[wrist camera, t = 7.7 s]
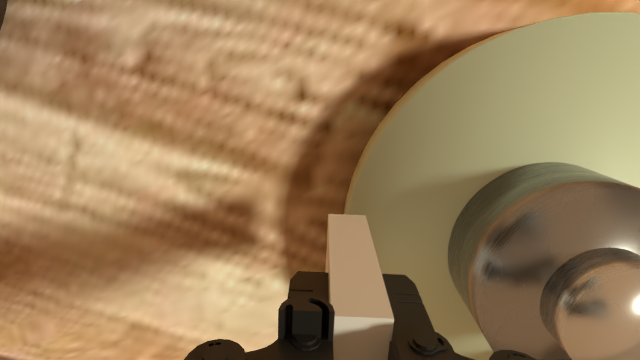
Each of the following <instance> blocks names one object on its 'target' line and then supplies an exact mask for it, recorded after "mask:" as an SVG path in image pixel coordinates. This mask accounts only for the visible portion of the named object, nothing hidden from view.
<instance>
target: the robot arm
mask: <svg viewBox="0 0 640 360" xmlns="http://www.w3.org/2000/svg"><path fill="white" fill-rule="evenodd" d="M6 6H7V0H0V29H1V26H2V23H3V19H4V15H5V11H6ZM184 360H475V359H471V358H468V357H465V356H462V355H459V354H457V353H456V352H454V350H453V348H452V346H451V344H450V343H449V342H448V340H447V339H446V338H445V337H443V336H442V335H441V334H439V333H437V332H435V330H434V328H433V325H432V323H431V321H430V318H429V316H428V313H427V311H426V309H425V306H424V304H423V301H422V299H421V297H420V295H419V292H418V290H417V287H416V285H415V283H414V282H413V281H412V280H410V279H409V278H408V277H407V276H406V275H400V274H382V273H381V269H380V266H379V262H378V259H377V255H376V251H375V248H374V244H373V240H372V237H371V233H370V230H369V226H368V222H367V219H366V215H345V214H328V230H327V250H326V269H325V272H302V271H298V272H297V273H296V274H295V275H294V276H293V277H292V279H291V280H290V286H289V293H288V299H287V300H286V301H284V302H283V303H282V304H281V306H280V308H279V315H278V339H277V340H276V341H275V342H274V343H272V344H271V345H269V346H267V347H265V348H262V349H259V350H255V351H250V352H245V351H244V349H243V348H242V347H241V346H240V345H239V344H238V343H236V342H234V341H231V340H224V339H217V340H212V341H207V342H205V343H203V344H201V345H199V346H197V347H196V348H195V349H193V350H192V351H191V352H190V353H189V354H188V355H187V357H186V358H185V359H184ZM489 360H537V359H535V358H533V357H531V356H529V355H527V354H525V353H522V352H518V351H514V350H499V351H496V352H494V353H493V354H492V355H491V356H490V358H489Z"/></svg>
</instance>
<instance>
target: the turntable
mask: <svg viewBox="0 0 640 360" xmlns="http://www.w3.org/2000/svg"><path fill="white" fill-rule="evenodd" d="M543 162H563V163H568V164H574V165H577V166H580V167H584V168H587V169H589V170H592V171H595V172H597V173H600V174H603V175H605V176H608V177H611V178H614V179H616V180H619V181H622V182H624V183H627V184H630V185H632V186H635V187H638V188H640V14H638V13H630V12H600V13H586V14H579V15H573V16H566V17H560V18H554V19H550V20H546V21H542V22H538V23H534V24H529V25H526V26H522V27H519V28H516V29H512V30H509V31H505V32H502V33H498V34H496V35H494V36H492V37H489V38H487V39H485V40H482V41H480V42H478V43H475V44H473V45H471V46H469V47H467V48H465V49H464V50H462V51H460V52H459V53H457V54H455V55H454V56H452V57H450V58H448V59H447V60H445V61H443V62H442V63H441V64H439V65H438V66H437V67H435V68H434V69H433V70H431V71H430V72H429V73H428V74H426V75H425V76H424V77H422V78H421V79H420V80H418V81H417V82H416V83H415V84H414V85H413V86H412V87H411V88H410V89H409V90H408V91H407V92H406V93H405V94H404V95H403V96H402V97H401V98H400V99H399V100H398V101H397V102H396V103H395V105H394V106H393V107H392V108H391V110H390V111H389V112H388V113H387V115H386V116H385V117H384V119H383V120H382V121H381V122H380V124H379V125H378V126H377V128H376V130H375V131H374V133H373V135H372V136H371V138H370V140H369V141H368V143H367V145H366V146H365V148H364V150H363V152H362V154H361V157H360V159H359V161H358V164H357V166H356V168H355V170H354V173H353V175H352V179H351V182H350V186H349V189H348V193H347V196H346V201H345V208H344V214H345V215H366V219H367V222H368V226H369V230H370V233H371V237H372V240H373V244H374V248H375V251H376V255H377V259H378V262H379V266H380V269H381V273H382V274H400V275H406V276H407V277H408V278H409V279H410V280H412V281H413V282H414V283H415V285H416V287H417V290H418V292H419V295H420V297H421V299H422V301H423V304H424V306H425V309H426V311H427V313H428V316H429V318H430V321H431V323H432V325H433V328H434V330H435V332H437V333H439V334H441V335H442V336H443V337H445V338H446V339H447V340H448V342H449V343H450V344H451V346H452V348H453V350H454V352H456V353H457V354H459V355H462V356H465V357H468V358H471V359H475V360H489V358H490V356H491V355H492V354H493V353H494V352H493V350H492V349H491V347H490V345H489V344H488V342H487V340H486V339H485V337H484V335H483V334H482V332H481V330H480V328H479V327H478V325H477V323H476V322H475V320H474V318H473V317H472V315H471V313H470V312H469V310H468V308H467V307H466V305H465V303H464V301H463V300H462V298H461V296H460V295H459V293H458V291H457V290H456V288H455V286H454V283H453V281H452V279H451V275H450V272H449V267H448V244H449V238H450V235H451V232H452V228H453V226H454V224H455V222H456V219H457V217H458V216H459V214H460V212H461V211H462V209H463V208H464V206H465V205H466V204H467V203H468V201H469V200H470V199H471V198H472V197H473V196H474V195H475V194H476V193H477V192H478V191H479V190H480V189H481V188H482V187H484V186H485V185H486V184H487V183H489V182H490V181H492V180H493V179H495V178H497V177H498V176H500V175H502V174H504V173H506V172H508V171H510V170H513V169H516V168H519V167H522V166H525V165H530V164H535V163H543Z"/></svg>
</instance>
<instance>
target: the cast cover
mask: <svg viewBox="0 0 640 360" xmlns="http://www.w3.org/2000/svg"><path fill="white" fill-rule="evenodd" d="M448 267H449V272H450V275H451V279H452V281H453V283H454V286H455V288H456V290H457V291H458V293H459V295H460V296H461V298H462V300H463V301H464V303H465V305H466V307H467V308H468V310H469V312H470V313H471V315H472V317H473V318H474V320H475V322H476V323H477V325H478V327H479V328H480V330H481V332H482V334H483V335H484V337H485V339H486V340H487V342H488V344H489V345H490V347H491V349H492V350H493V352H496V351H499V350H514V351H518V352H522V353H525V354H527V355H529V356H531V357H533V358H535V359H537V360H640V188H638V187H635V186H632V185H630V184H627V183H624V182H622V181H619V180H616V179H614V178H611V177H608V176H605V175H603V174H600V173H597V172H595V171H592V170H589V169H587V168H584V167H580V166H577V165H574V164H568V163H563V162H543V163H535V164H530V165H525V166H522V167H519V168H516V169H513V170H510V171H508V172H506V173H504V174H502V175H500V176H498V177H497V178H495V179H493V180H492V181H490V182H489V183H487V184H486V185H485V186H484V187H482V188H481V189H480V190H479V191H478V192H477V193H476V194H475V195H474V196H473V197H472V198H471V199H470V200H469V201H468V203H467V204H466V205H465V206H464V208H463V209H462V211H461V212H460V214H459V216H458V217H457V219H456V222H455V224H454V226H453V228H452V232H451V235H450V238H449V244H448Z"/></svg>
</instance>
